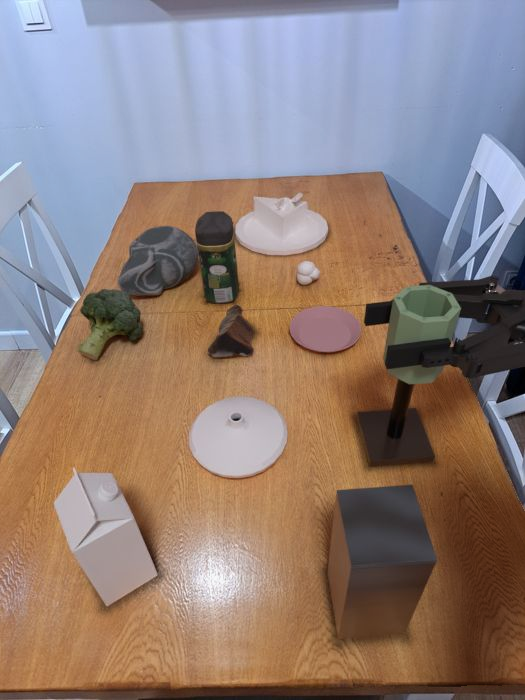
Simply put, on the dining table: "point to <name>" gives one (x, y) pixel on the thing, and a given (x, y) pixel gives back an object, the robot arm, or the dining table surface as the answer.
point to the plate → (325, 329)
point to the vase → (238, 437)
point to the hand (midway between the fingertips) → (376, 335)
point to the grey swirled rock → (158, 261)
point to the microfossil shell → (307, 272)
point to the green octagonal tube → (421, 325)
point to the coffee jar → (217, 257)
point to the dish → (281, 227)
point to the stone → (233, 336)
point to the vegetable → (109, 319)
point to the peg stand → (395, 432)
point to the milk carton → (104, 535)
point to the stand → (378, 560)
